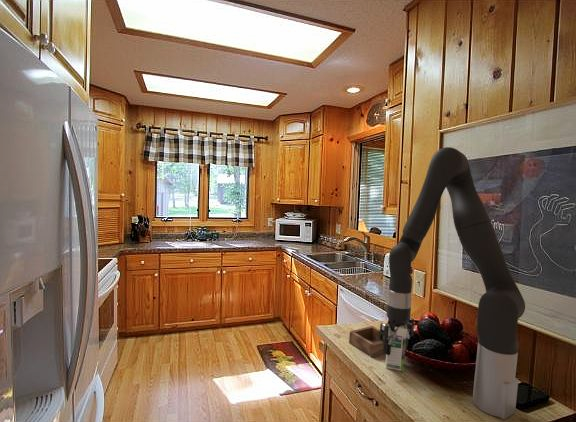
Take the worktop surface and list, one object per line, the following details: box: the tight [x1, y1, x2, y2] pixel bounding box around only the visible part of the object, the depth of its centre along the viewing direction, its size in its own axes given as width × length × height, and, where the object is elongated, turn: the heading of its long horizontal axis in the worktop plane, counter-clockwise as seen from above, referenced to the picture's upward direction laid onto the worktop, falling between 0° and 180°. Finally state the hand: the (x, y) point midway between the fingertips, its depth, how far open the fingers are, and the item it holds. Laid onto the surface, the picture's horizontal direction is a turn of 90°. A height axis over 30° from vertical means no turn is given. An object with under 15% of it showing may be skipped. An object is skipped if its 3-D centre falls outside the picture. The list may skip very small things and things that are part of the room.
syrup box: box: [385, 324, 407, 372], centre depth 109 cm, size 6×6×14 cm
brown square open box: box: [348, 325, 386, 359], centre depth 122 cm, size 12×12×4 cm
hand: (395, 351), depth 109 cm, fingers closed on syrup box, 8 cm apart
